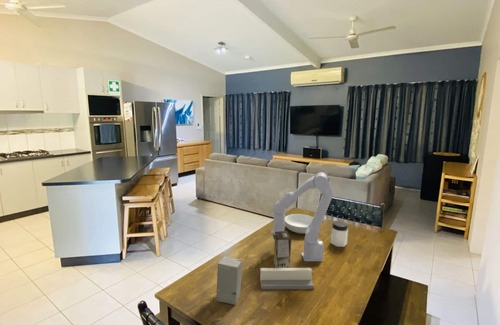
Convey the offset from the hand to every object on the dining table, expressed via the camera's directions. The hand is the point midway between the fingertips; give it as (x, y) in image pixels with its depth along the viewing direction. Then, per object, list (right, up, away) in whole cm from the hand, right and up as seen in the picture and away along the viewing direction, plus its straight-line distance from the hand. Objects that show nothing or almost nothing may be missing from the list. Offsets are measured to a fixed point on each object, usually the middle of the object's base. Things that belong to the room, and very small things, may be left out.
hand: (278, 248), depth 141 cm
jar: (+36, -1, +12) cm, 37 cm away
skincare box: (-23, -9, -35) cm, 43 cm away
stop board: (+1, -7, -26) cm, 27 cm away
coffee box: (0, -5, -12) cm, 13 cm away
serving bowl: (+17, +2, +29) cm, 33 cm away
